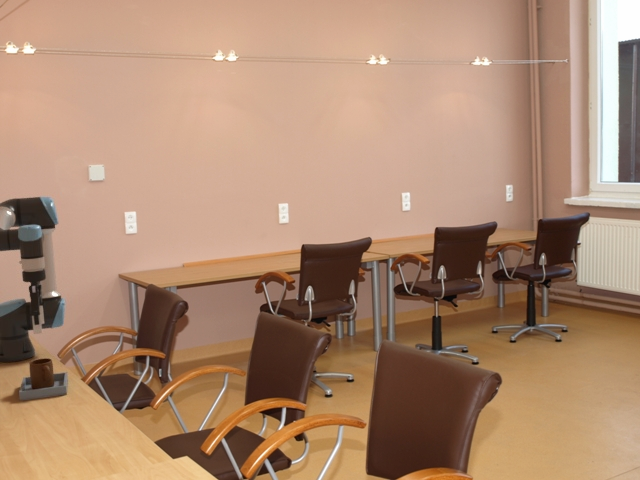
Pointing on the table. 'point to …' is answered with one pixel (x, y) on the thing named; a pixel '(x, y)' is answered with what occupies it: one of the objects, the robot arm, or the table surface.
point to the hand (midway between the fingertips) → (39, 328)
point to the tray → (56, 390)
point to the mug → (41, 373)
